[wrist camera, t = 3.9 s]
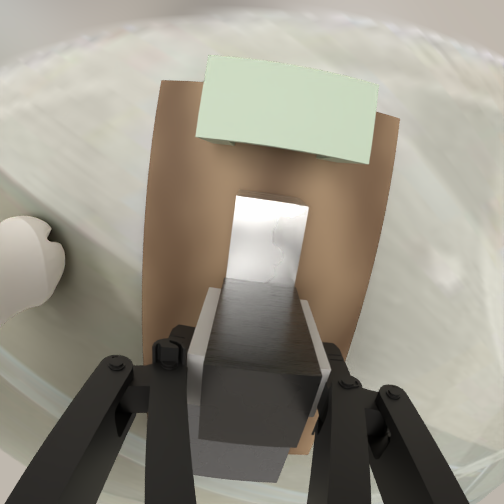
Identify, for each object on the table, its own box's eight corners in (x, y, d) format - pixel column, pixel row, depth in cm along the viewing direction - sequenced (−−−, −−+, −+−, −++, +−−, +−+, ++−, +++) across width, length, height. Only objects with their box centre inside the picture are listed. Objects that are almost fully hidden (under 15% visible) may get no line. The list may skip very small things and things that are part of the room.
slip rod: (210, 427, 26) (194, 537, 15) (238, 189, 20) (216, 228, 9) (253, 432, 26) (253, 543, 15) (300, 198, 20) (357, 248, 9)
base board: (151, 429, 28) (149, 436, 27) (165, 83, 19) (161, 80, 18) (306, 447, 28) (308, 454, 27) (393, 120, 19) (399, 118, 19)
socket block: (212, 143, 19) (195, 136, 14) (221, 83, 18) (208, 54, 12) (337, 162, 20) (368, 164, 14) (345, 103, 18) (378, 84, 13)
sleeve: (191, 422, 26) (180, 472, 20) (194, 349, 23) (179, 401, 18) (273, 432, 26) (276, 482, 20) (292, 361, 24) (302, 415, 18)
